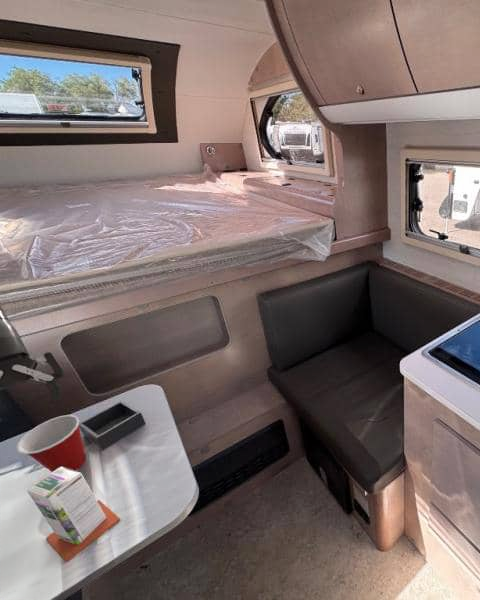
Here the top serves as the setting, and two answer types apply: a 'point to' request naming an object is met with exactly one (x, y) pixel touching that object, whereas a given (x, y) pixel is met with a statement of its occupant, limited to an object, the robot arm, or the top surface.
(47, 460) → the plastic cup
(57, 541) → the mat
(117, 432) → the caddy
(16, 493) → the top surface
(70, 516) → the syrup box
